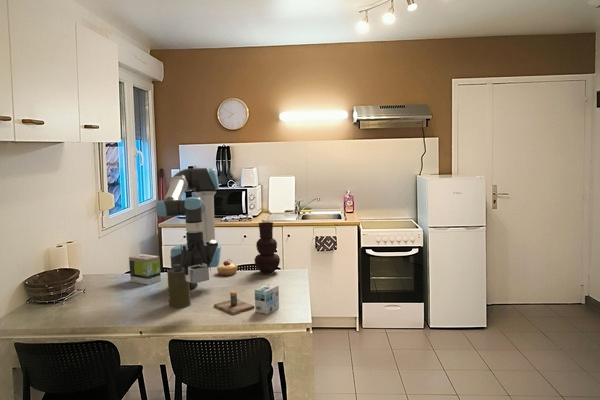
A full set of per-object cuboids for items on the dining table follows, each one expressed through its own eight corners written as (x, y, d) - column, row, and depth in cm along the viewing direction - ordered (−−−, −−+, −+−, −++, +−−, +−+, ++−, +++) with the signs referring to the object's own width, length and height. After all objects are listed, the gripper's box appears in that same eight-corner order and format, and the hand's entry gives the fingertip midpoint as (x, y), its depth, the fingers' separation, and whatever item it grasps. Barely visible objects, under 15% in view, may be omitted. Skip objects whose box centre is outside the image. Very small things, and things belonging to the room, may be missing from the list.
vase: (251, 275, 294) (249, 225, 290) (258, 269, 309) (256, 220, 305) (277, 276, 291) (275, 225, 288) (282, 269, 306) (281, 220, 303)
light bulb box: (266, 314, 228) (265, 291, 227) (254, 312, 232) (253, 289, 230) (279, 307, 237) (279, 285, 236) (268, 305, 241) (267, 283, 239)
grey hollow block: (185, 280, 233) (184, 267, 233) (200, 276, 238) (199, 264, 238) (193, 283, 227) (193, 270, 227) (209, 280, 233) (208, 267, 232)
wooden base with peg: (214, 306, 241) (213, 292, 240) (234, 300, 249) (234, 286, 248) (233, 314, 229) (232, 299, 228) (254, 308, 237) (253, 293, 236)
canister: (171, 309, 238) (169, 268, 235) (166, 303, 247) (164, 263, 245) (194, 305, 243) (192, 265, 240) (188, 299, 252) (186, 260, 250)
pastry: (221, 271, 307) (220, 257, 306) (239, 271, 305) (239, 257, 305) (215, 276, 295) (214, 261, 294) (234, 276, 293) (233, 261, 293)
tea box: (161, 281, 288) (160, 255, 286) (147, 285, 280) (146, 259, 278) (143, 277, 296) (142, 253, 294) (129, 282, 288) (128, 256, 286)
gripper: (177, 235, 220) (180, 286, 223) (218, 229, 234) (220, 276, 237) (169, 233, 226) (172, 282, 229) (209, 227, 240) (212, 273, 243)
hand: (197, 279), depth 233 cm, fingers closed on grey hollow block, 8 cm apart
